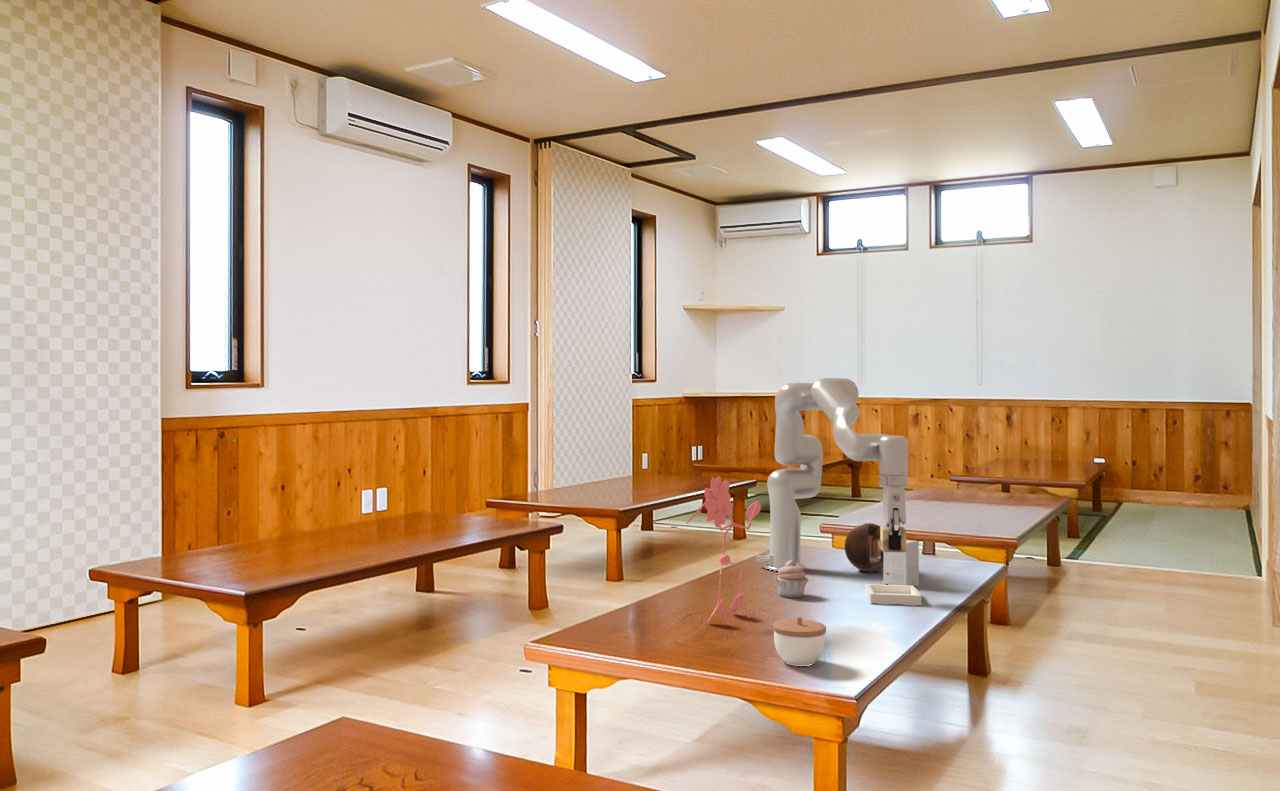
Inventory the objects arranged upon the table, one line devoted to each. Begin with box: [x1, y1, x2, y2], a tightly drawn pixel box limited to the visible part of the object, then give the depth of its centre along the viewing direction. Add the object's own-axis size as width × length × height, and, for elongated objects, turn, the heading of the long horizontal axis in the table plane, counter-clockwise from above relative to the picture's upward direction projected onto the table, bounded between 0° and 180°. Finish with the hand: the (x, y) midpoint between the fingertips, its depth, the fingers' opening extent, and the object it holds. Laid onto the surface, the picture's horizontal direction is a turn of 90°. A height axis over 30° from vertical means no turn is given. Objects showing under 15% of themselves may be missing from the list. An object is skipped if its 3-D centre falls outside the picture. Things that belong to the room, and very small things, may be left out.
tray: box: [864, 583, 922, 606], centre depth 249 cm, size 13×13×3 cm
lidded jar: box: [772, 616, 827, 665], centre depth 190 cm, size 11×11×9 cm
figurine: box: [686, 476, 766, 626], centre depth 227 cm, size 15×26×35 cm, turn 141°
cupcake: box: [774, 560, 809, 599], centre depth 253 cm, size 9×9×10 cm
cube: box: [879, 525, 907, 552], centre depth 249 cm, size 6×6×6 cm
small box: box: [882, 539, 920, 587], centre depth 268 cm, size 8×6×13 cm
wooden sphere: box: [844, 522, 884, 573], centre depth 289 cm, size 15×15×15 cm
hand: (893, 547), depth 249 cm, fingers closed on cube, 6 cm apart
